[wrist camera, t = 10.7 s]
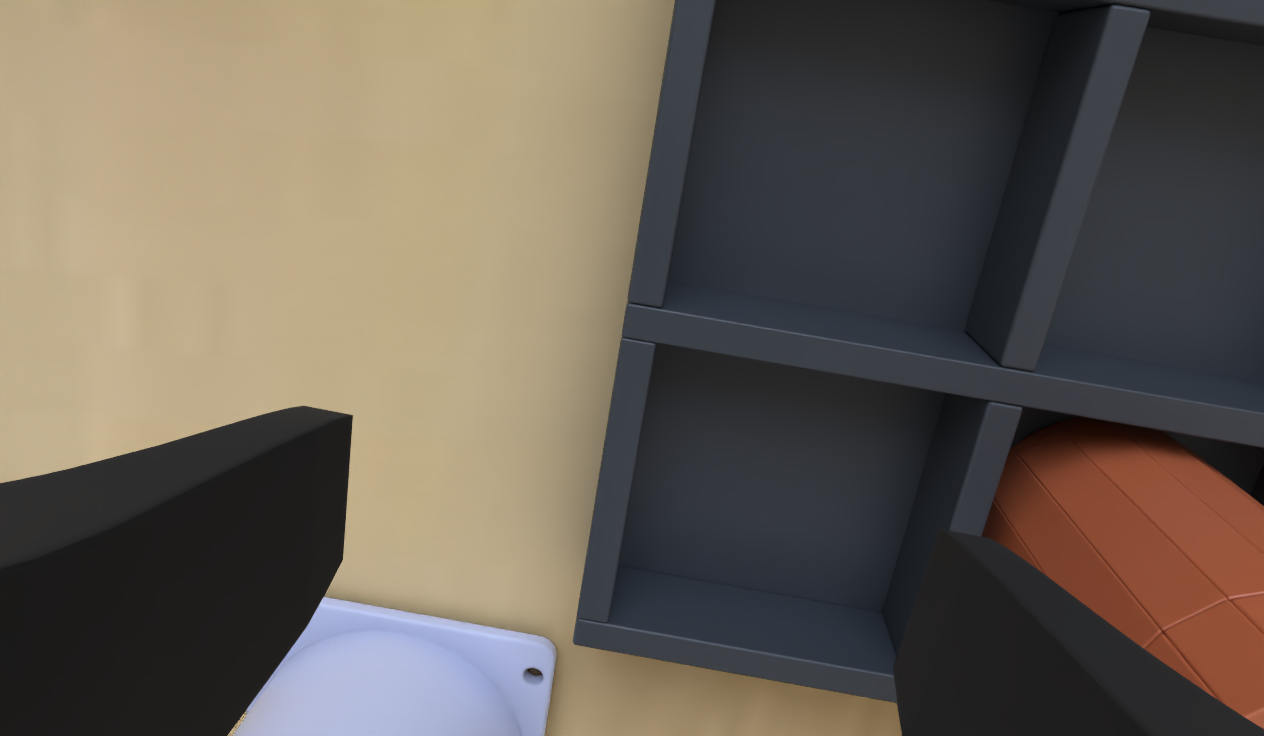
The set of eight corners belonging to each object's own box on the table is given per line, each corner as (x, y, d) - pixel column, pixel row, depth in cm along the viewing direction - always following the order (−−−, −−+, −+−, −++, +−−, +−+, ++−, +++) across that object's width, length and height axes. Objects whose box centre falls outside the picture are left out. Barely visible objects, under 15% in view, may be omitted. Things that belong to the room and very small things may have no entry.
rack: (1187, 682, 22) (1255, 769, 19) (587, 574, 22) (571, 645, 20) (1665, -413, 15) (1886, -525, 12) (769, -548, 15) (784, -685, 12)
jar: (1159, 634, 21) (1465, 1011, 13) (943, 595, 21) (1103, 944, 13) (1241, 436, 20) (1657, 718, 11) (1006, 395, 20) (1238, 644, 11)
